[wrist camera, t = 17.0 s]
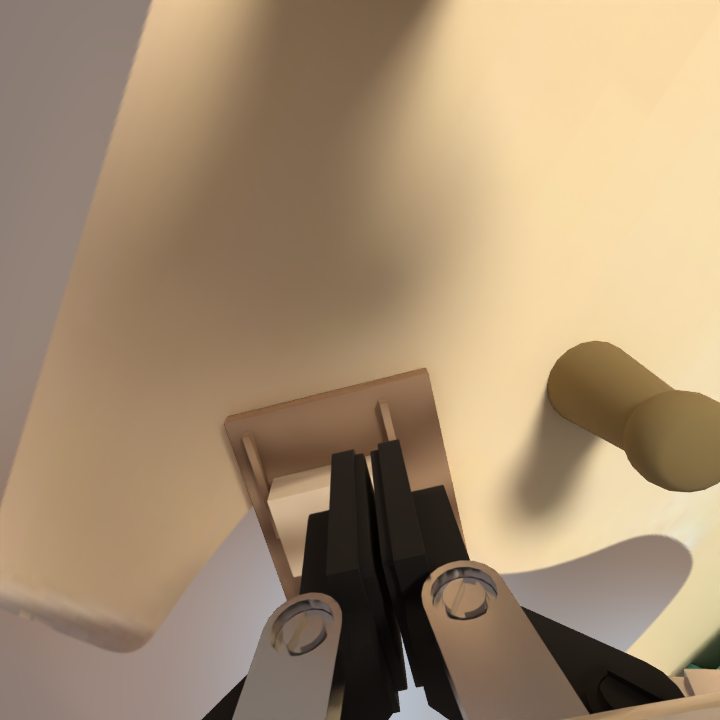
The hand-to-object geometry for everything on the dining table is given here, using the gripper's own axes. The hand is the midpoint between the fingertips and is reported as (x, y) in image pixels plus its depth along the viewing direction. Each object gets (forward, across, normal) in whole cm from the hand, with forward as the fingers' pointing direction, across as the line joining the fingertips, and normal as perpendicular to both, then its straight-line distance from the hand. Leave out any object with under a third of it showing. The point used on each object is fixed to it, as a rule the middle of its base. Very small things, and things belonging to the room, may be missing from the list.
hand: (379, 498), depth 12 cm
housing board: (+20, +3, +15) cm, 25 cm away
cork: (+21, -15, +9) cm, 27 cm away
